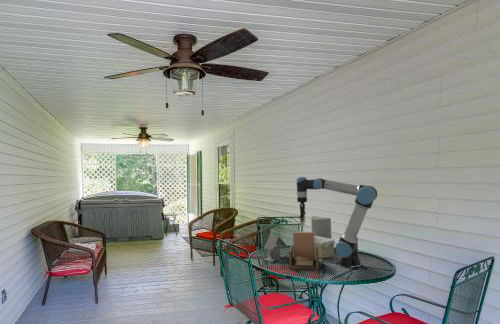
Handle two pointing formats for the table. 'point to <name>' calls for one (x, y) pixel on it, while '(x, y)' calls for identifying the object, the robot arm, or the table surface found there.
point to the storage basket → (324, 247)
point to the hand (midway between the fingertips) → (303, 224)
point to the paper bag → (321, 226)
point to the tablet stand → (270, 245)
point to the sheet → (304, 244)
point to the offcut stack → (303, 261)
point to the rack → (292, 266)
